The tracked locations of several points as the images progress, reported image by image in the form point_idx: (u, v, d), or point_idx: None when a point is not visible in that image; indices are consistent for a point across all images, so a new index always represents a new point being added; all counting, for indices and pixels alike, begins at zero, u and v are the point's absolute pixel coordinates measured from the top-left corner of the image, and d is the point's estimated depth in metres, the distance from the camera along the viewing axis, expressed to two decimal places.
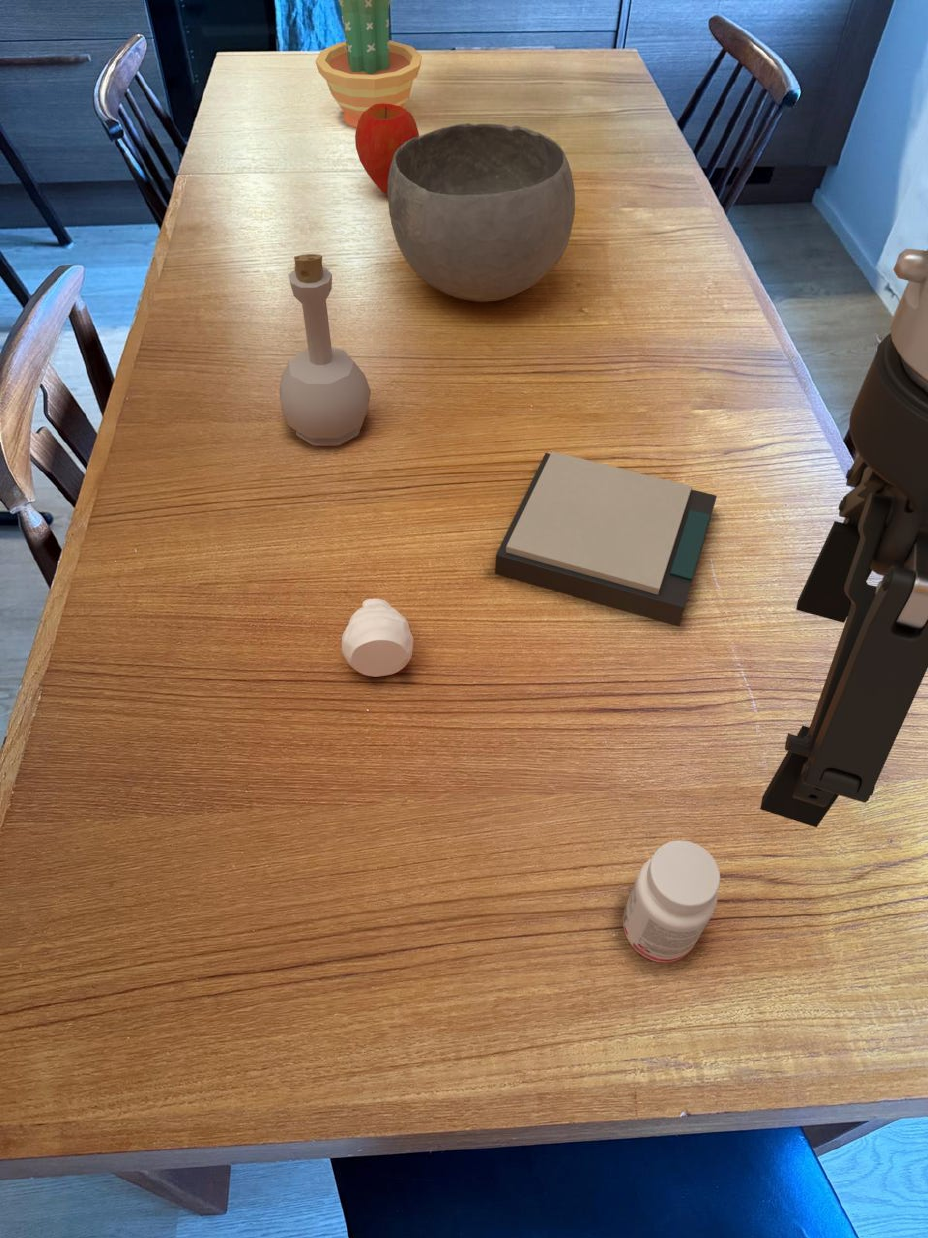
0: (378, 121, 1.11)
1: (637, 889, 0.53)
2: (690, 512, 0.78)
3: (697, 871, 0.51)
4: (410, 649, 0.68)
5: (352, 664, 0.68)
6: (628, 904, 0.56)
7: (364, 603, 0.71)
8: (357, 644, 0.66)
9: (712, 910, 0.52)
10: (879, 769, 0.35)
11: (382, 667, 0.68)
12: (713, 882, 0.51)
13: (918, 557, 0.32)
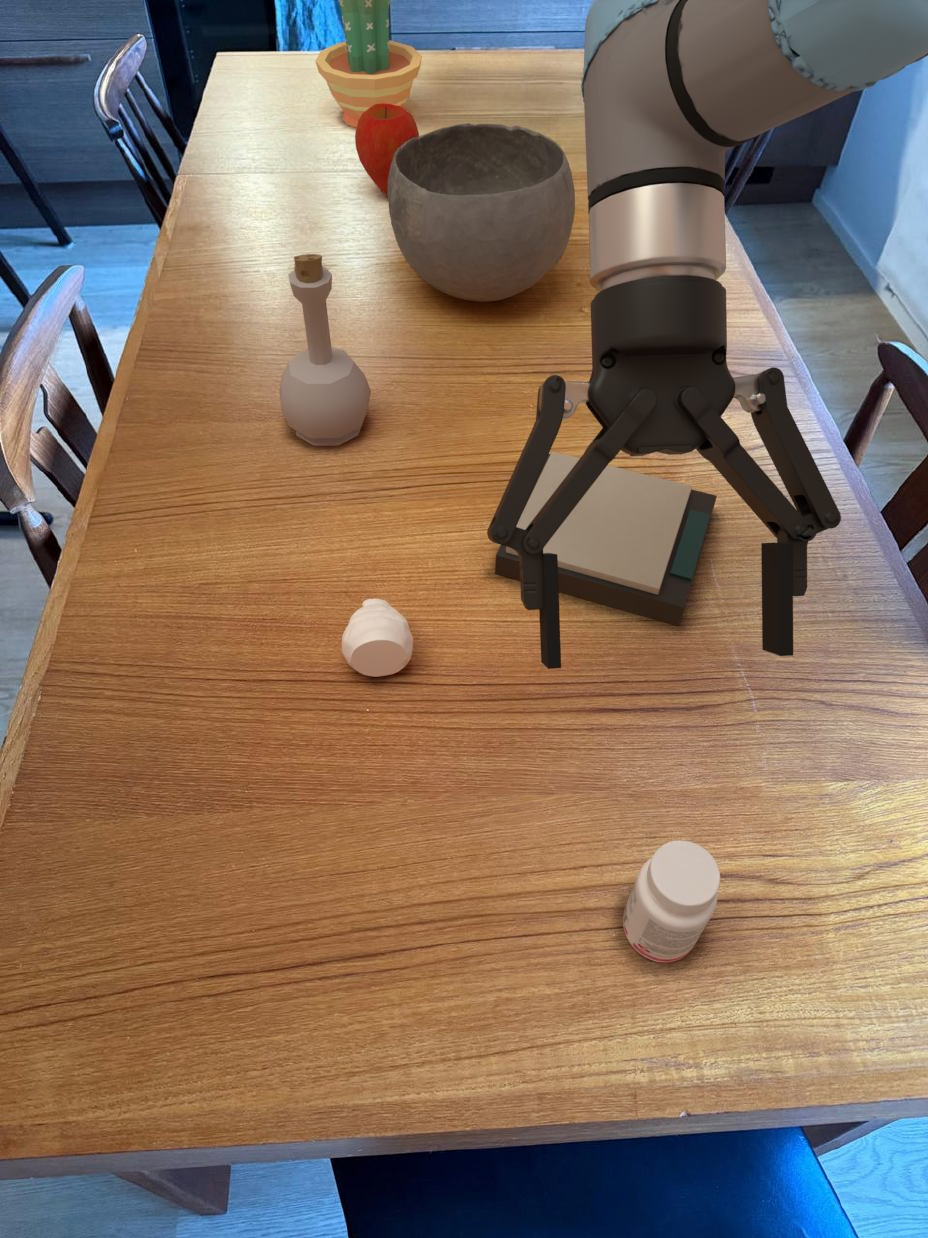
0: (378, 121, 1.11)
1: (637, 889, 0.53)
2: (690, 512, 0.78)
3: (697, 871, 0.51)
4: (410, 649, 0.68)
5: (352, 664, 0.68)
6: (628, 904, 0.56)
7: (364, 603, 0.71)
8: (357, 644, 0.66)
9: (712, 910, 0.52)
10: (501, 508, 0.50)
11: (382, 667, 0.68)
12: (713, 882, 0.51)
13: None
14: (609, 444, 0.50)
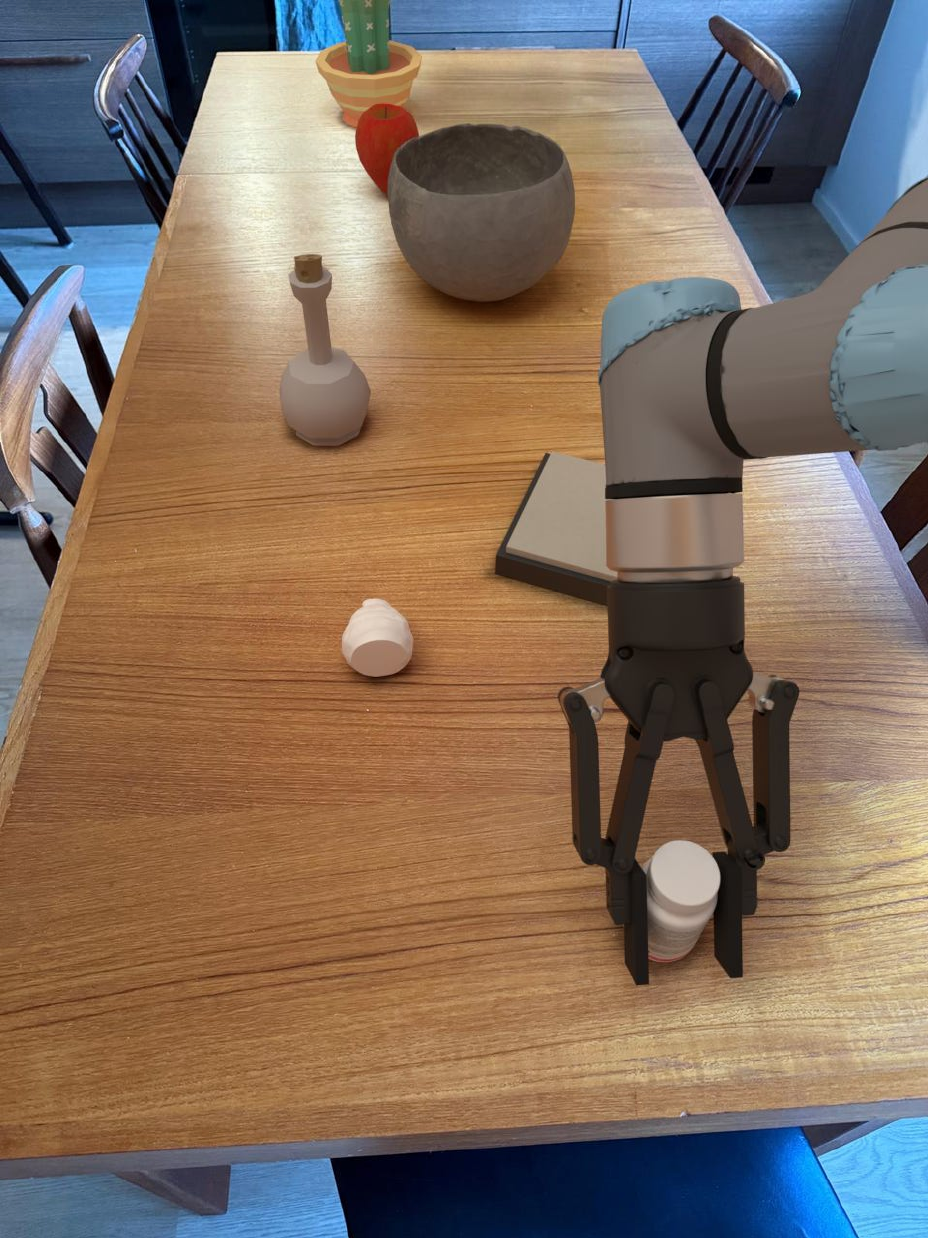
0: (378, 121, 1.11)
1: None
2: None
3: (698, 871, 0.51)
4: (410, 649, 0.68)
5: (352, 664, 0.68)
6: None
7: (364, 603, 0.71)
8: (357, 643, 0.66)
9: (712, 910, 0.52)
10: (579, 833, 0.50)
11: (382, 667, 0.68)
12: (713, 882, 0.51)
13: (589, 684, 0.51)
14: (649, 748, 0.49)
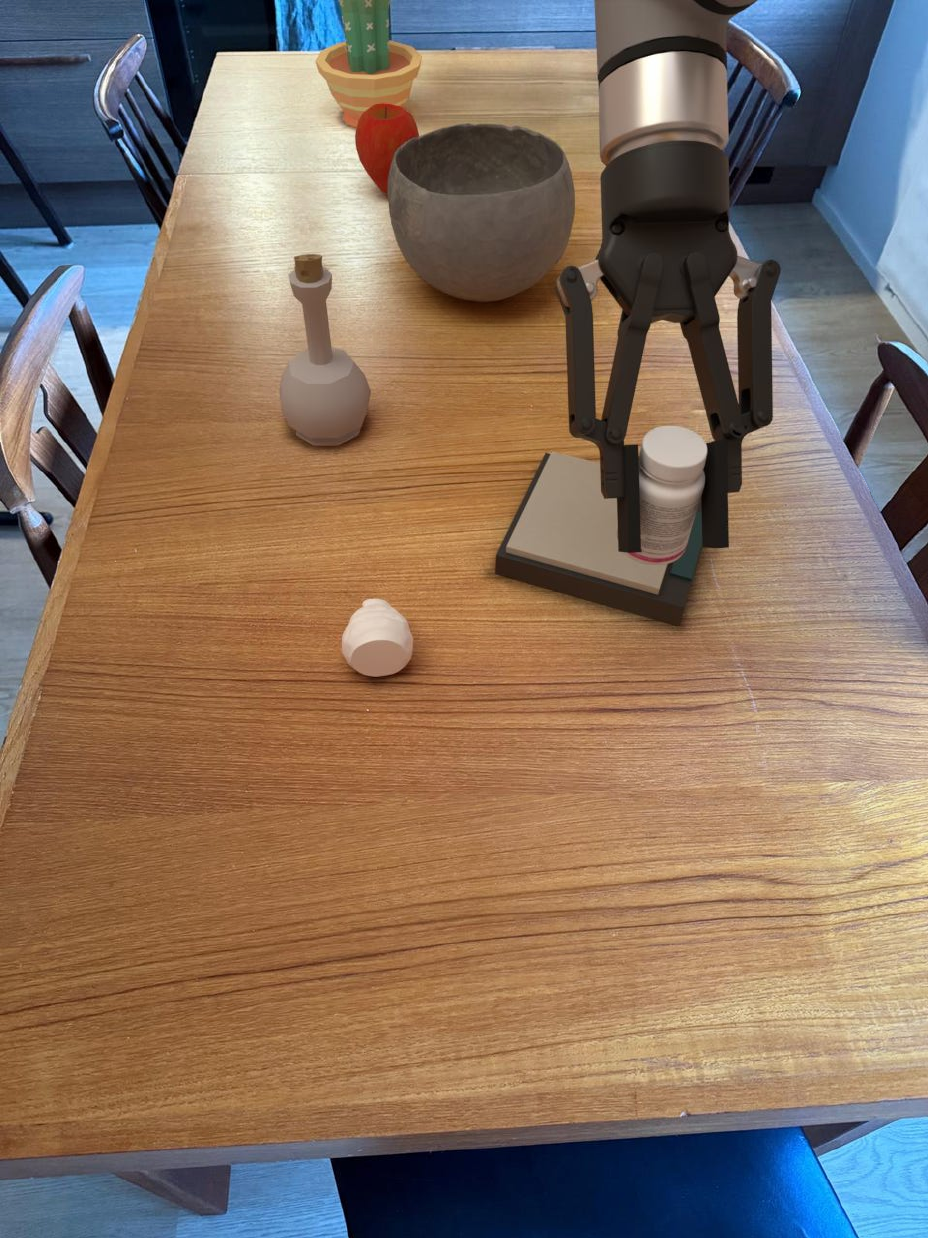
0: (378, 121, 1.11)
1: None
2: None
3: (686, 445, 0.55)
4: (410, 649, 0.68)
5: (352, 664, 0.68)
6: None
7: (364, 603, 0.71)
8: (357, 644, 0.66)
9: (700, 487, 0.55)
10: (575, 403, 0.54)
11: (382, 667, 0.68)
12: (701, 452, 0.54)
13: None
14: (640, 317, 0.53)
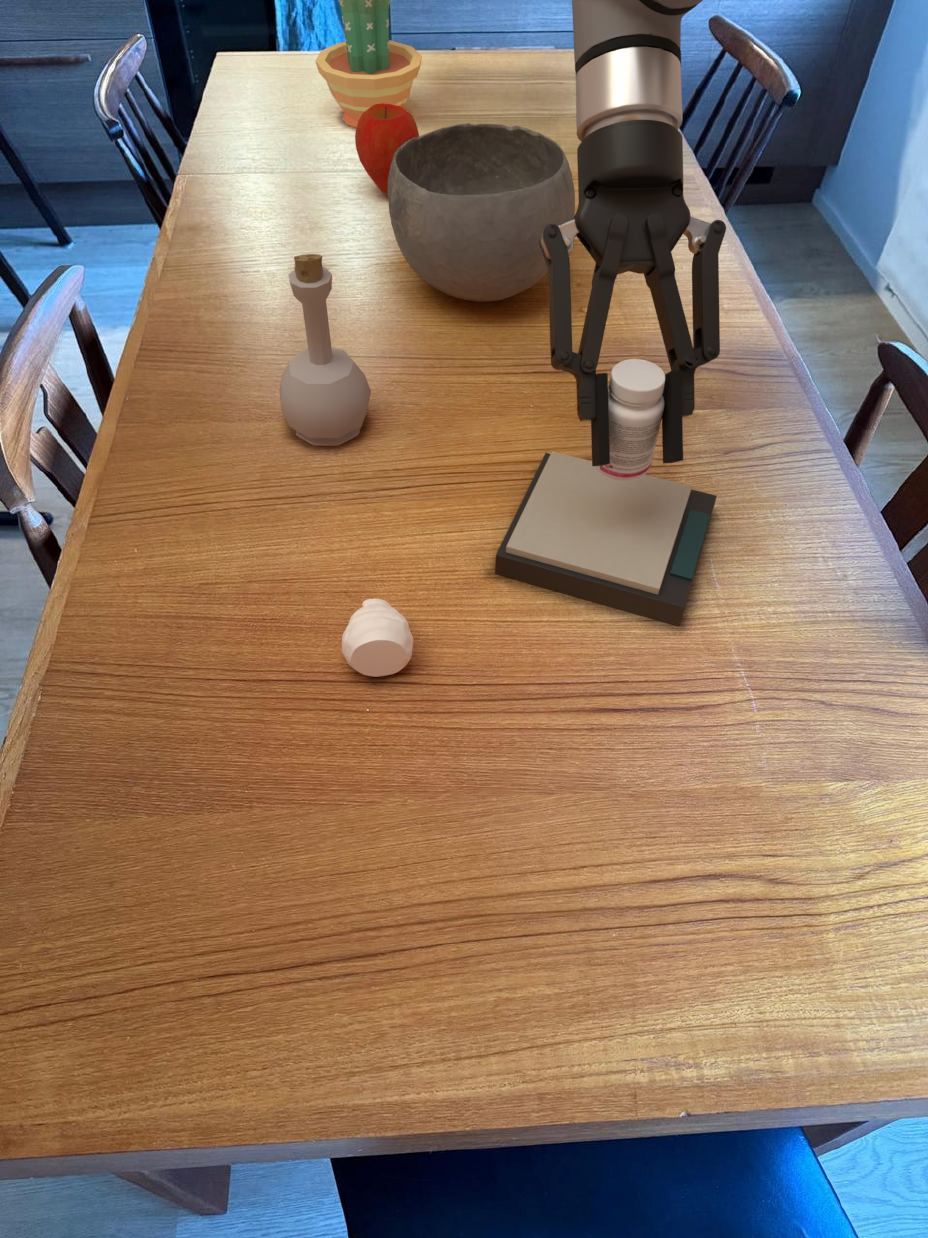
0: (378, 121, 1.11)
1: None
2: (690, 512, 0.78)
3: (648, 374, 0.66)
4: (410, 649, 0.68)
5: (352, 664, 0.68)
6: None
7: (364, 603, 0.71)
8: (357, 644, 0.66)
9: (659, 410, 0.66)
10: (555, 338, 0.65)
11: (382, 667, 0.68)
12: (659, 379, 0.65)
13: None
14: (609, 266, 0.64)
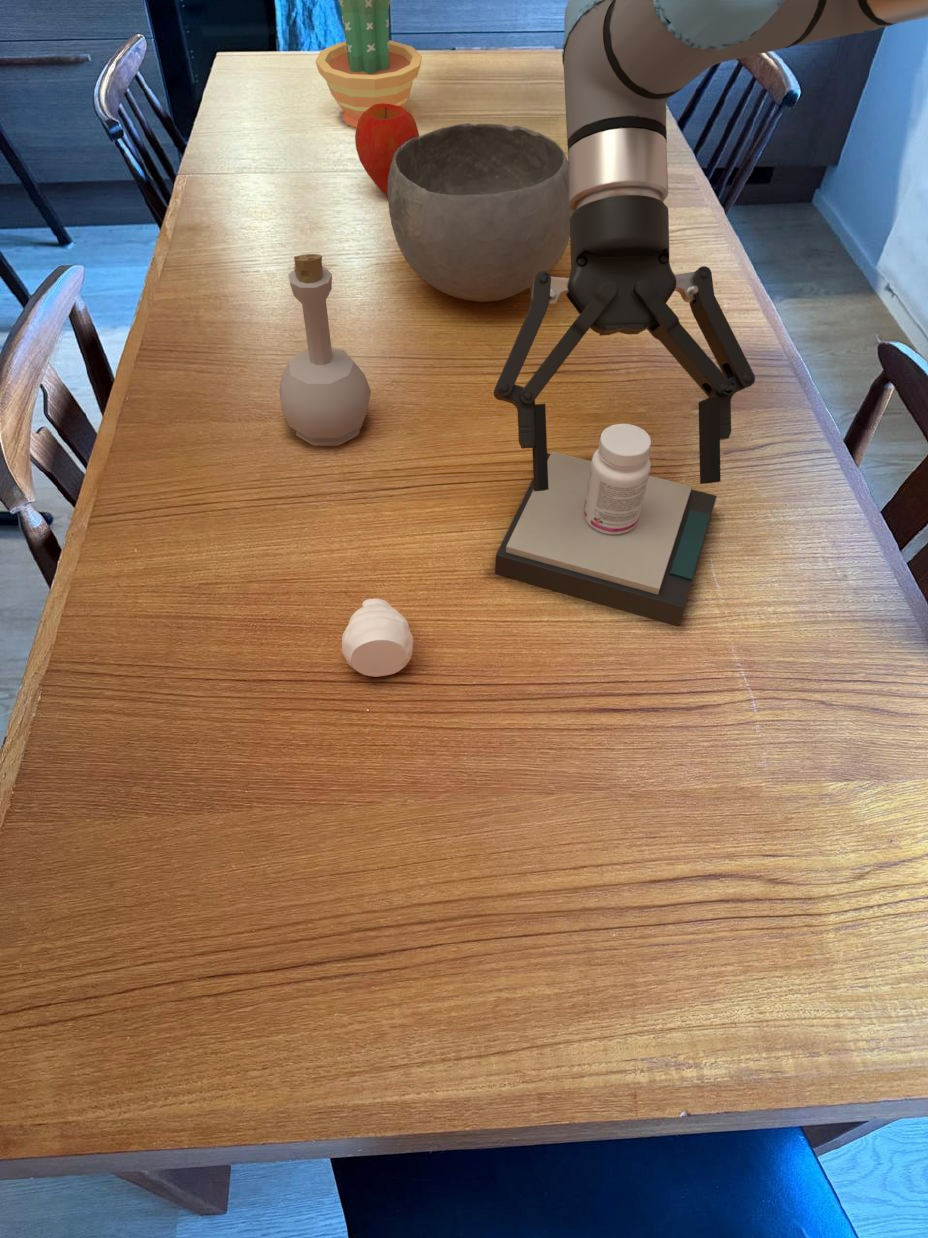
0: (378, 121, 1.11)
1: (592, 462, 0.72)
2: (690, 512, 0.78)
3: (634, 438, 0.70)
4: (410, 649, 0.68)
5: (352, 664, 0.68)
6: None
7: (364, 603, 0.71)
8: (357, 644, 0.66)
9: (646, 471, 0.71)
10: (503, 369, 0.68)
11: (382, 667, 0.68)
12: (645, 444, 0.70)
13: None
14: (583, 321, 0.68)
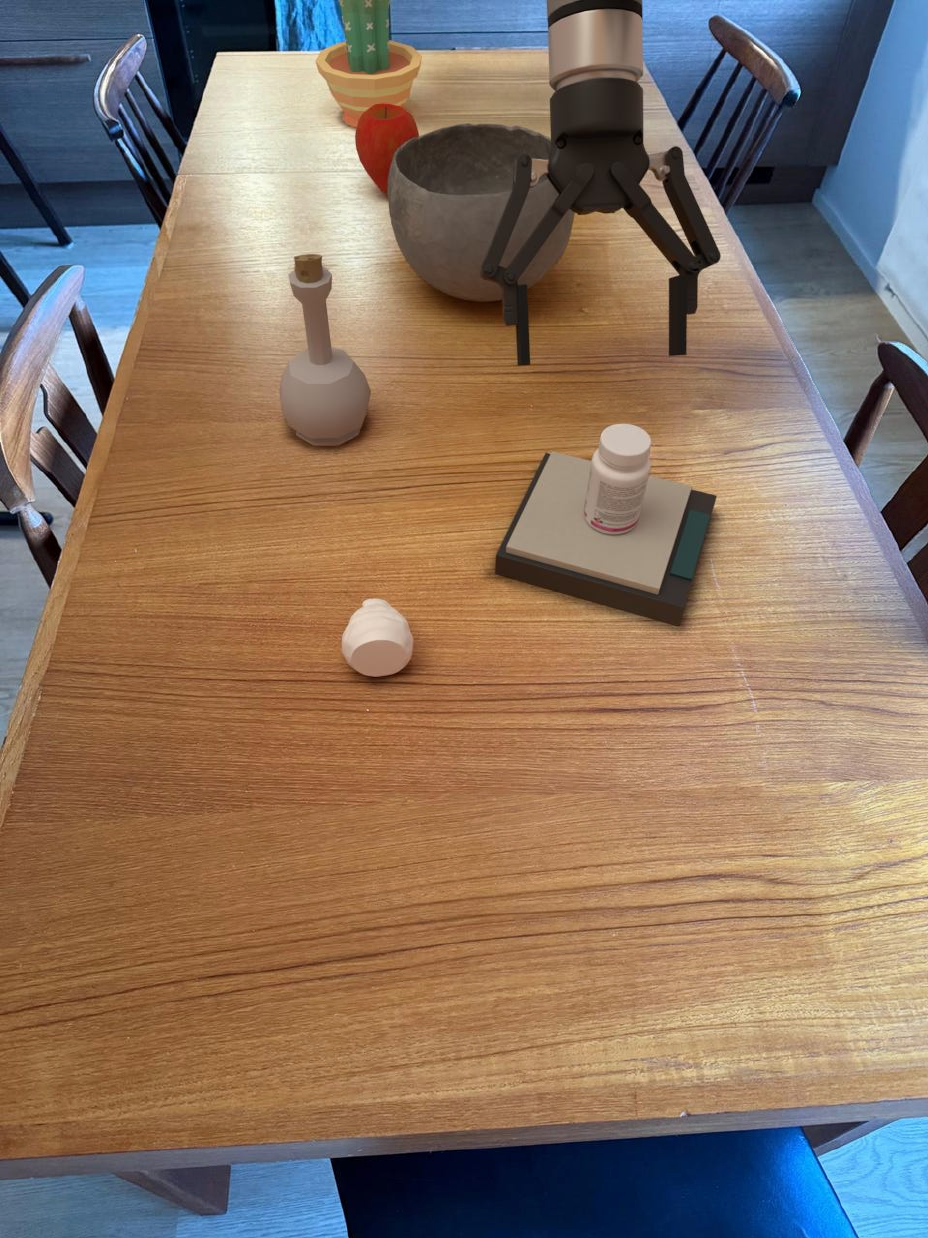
0: (378, 121, 1.11)
1: (592, 462, 0.72)
2: (690, 512, 0.78)
3: (634, 438, 0.70)
4: (410, 649, 0.68)
5: (352, 664, 0.68)
6: None
7: (364, 603, 0.71)
8: (357, 643, 0.66)
9: (646, 471, 0.71)
10: (488, 251, 0.74)
11: (382, 667, 0.68)
12: (645, 444, 0.70)
13: None
14: (561, 203, 0.73)
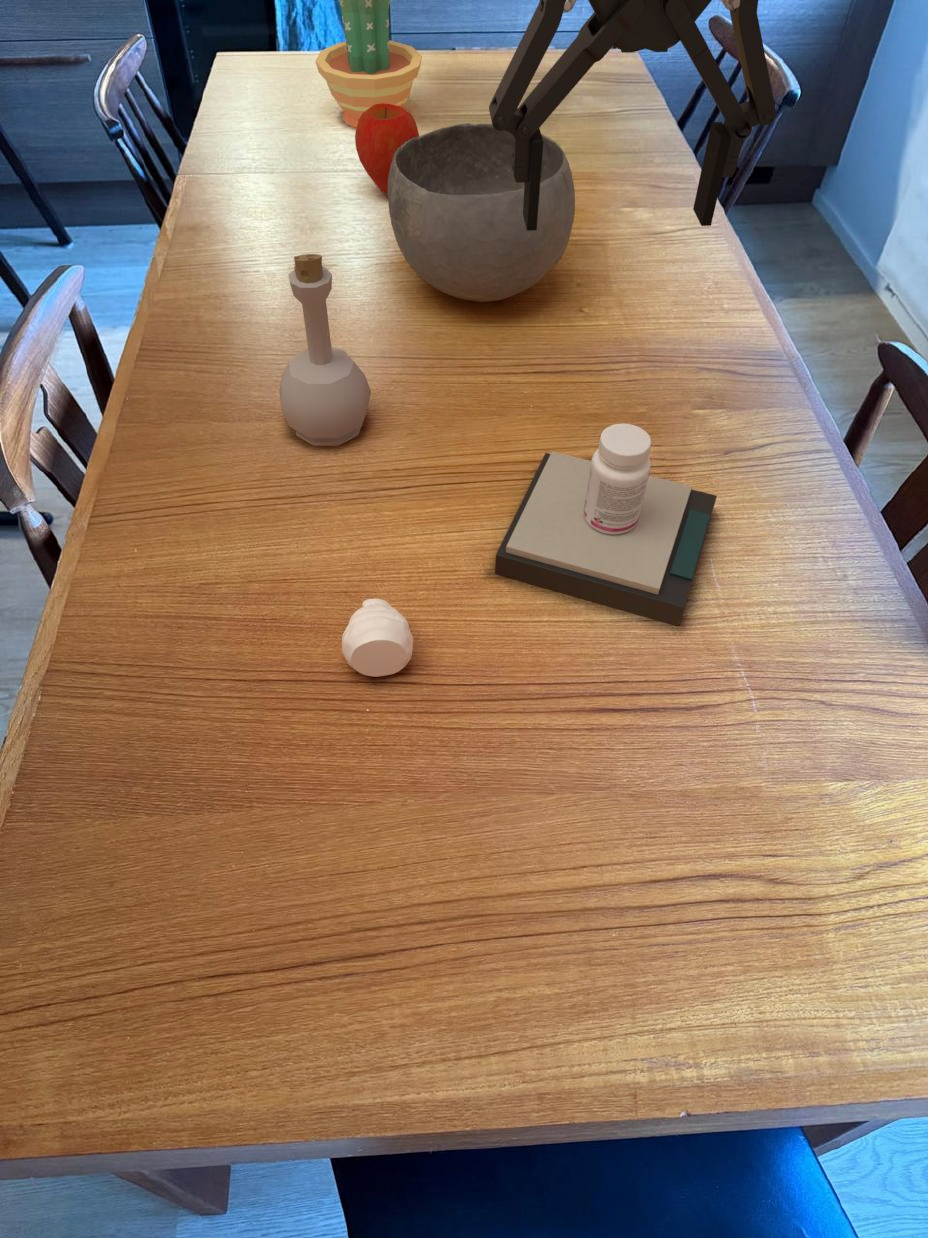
0: (378, 121, 1.11)
1: (592, 462, 0.72)
2: (690, 512, 0.78)
3: (634, 438, 0.70)
4: (410, 649, 0.68)
5: (352, 664, 0.68)
6: None
7: (364, 603, 0.71)
8: (357, 644, 0.66)
9: (646, 471, 0.71)
10: (502, 99, 0.61)
11: (382, 667, 0.68)
12: (645, 444, 0.70)
13: None
14: (597, 47, 0.59)
